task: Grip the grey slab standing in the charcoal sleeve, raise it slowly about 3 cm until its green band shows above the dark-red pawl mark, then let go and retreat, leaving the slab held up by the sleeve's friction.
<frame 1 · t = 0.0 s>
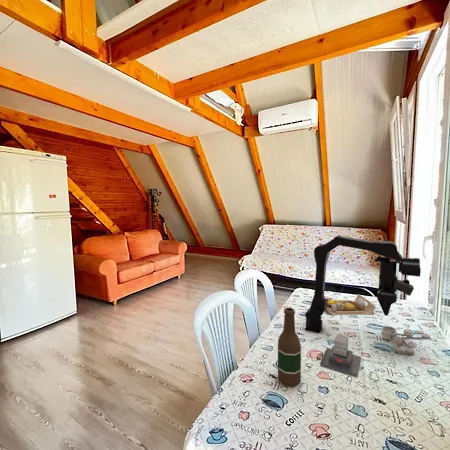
hand: (386, 311, 105), 15 cm above the table, fingers open, 9 cm apart
toy food set: (343, 309, 145), on the table
grey slab: (341, 349, 95), point 5 cm above the table, slide at 0.0 cm
pulley system: (401, 341, 111), on the table
beer bottle: (288, 380, 86), on the table
stand base: (340, 362, 95), on the table
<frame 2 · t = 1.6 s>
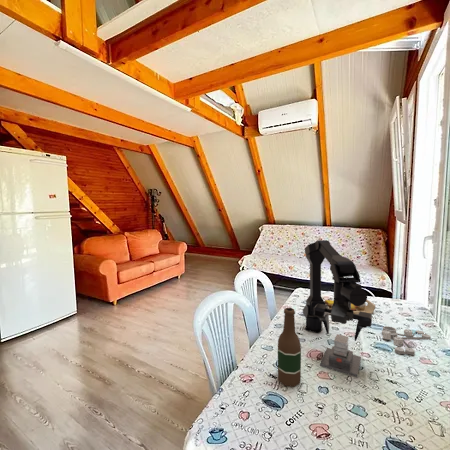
hand: (341, 337, 95), 10 cm above the table, fingers open, 9 cm apart
nothing on the table moved.
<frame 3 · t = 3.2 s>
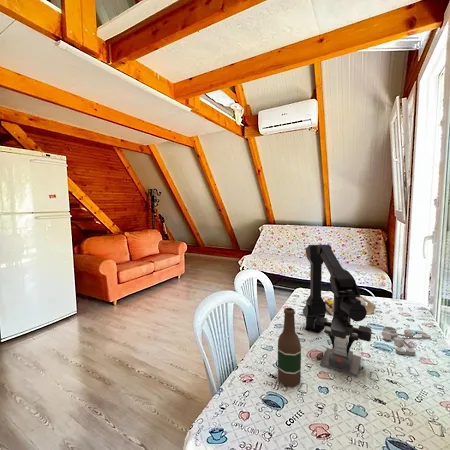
hand: (341, 350, 95), 5 cm above the table, fingers closed on grey slab, 4 cm apart
grey slab: (341, 349, 95), point 5 cm above the table, slide at 0.0 cm, touching gripper
everything else where it was.
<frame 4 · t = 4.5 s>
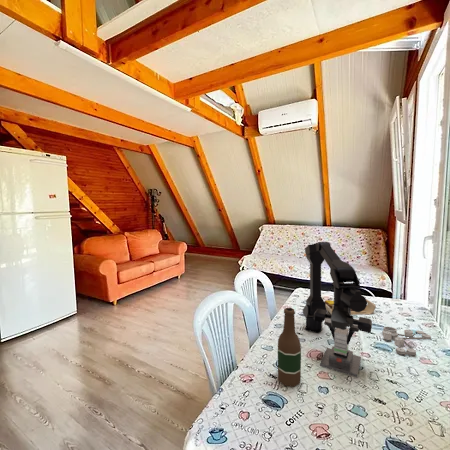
hand: (341, 342, 95), 8 cm above the table, fingers closed on grey slab, 4 cm apart
grey slab: (341, 341, 95), point 8 cm above the table, slide at 3.1 cm, touching gripper
everything else where it was.
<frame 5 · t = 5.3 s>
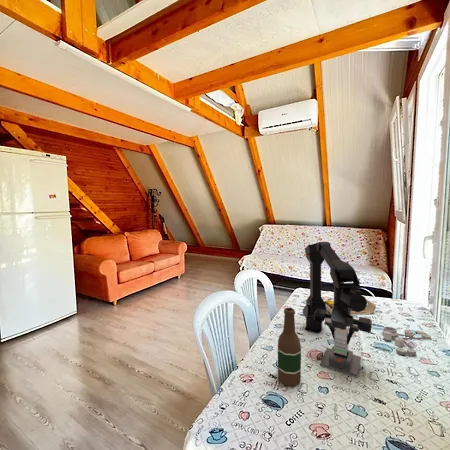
hand: (341, 342, 95), 8 cm above the table, fingers closed on grey slab, 4 cm apart
grey slab: (341, 341, 95), point 8 cm above the table, slide at 3.1 cm, touching gripper
everything else where it was.
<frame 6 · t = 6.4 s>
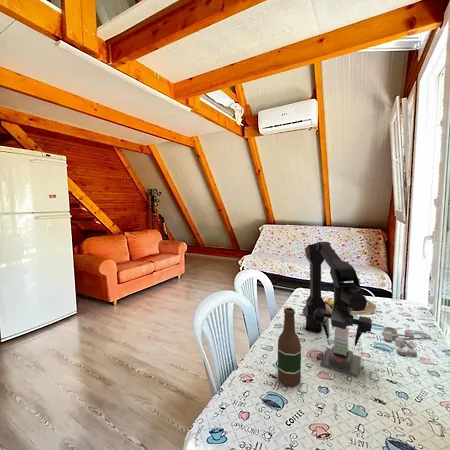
hand: (341, 341, 95), 8 cm above the table, fingers open, 9 cm apart
grey slab: (341, 341, 95), point 8 cm above the table, slide at 3.1 cm
everything else where it was.
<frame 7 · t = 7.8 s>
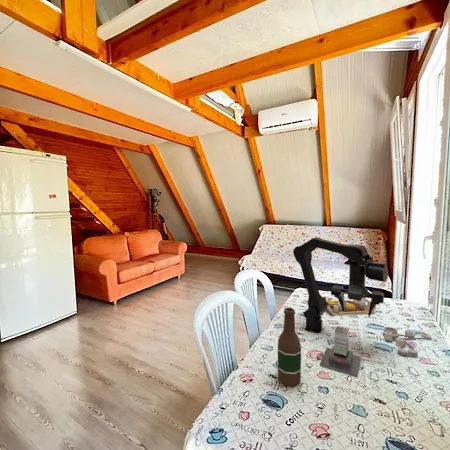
hand: (356, 314, 106), 13 cm above the table, fingers open, 9 cm apart
nothing on the table moved.
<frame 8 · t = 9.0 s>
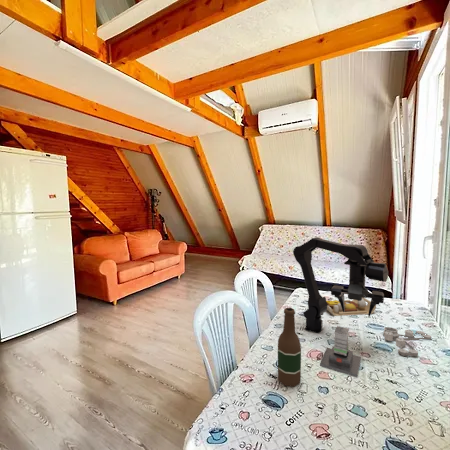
hand: (356, 314, 106), 13 cm above the table, fingers open, 9 cm apart
nothing on the table moved.
at the end: grey slab slide at 3.1 cm; the gripper is holding nothing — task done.
